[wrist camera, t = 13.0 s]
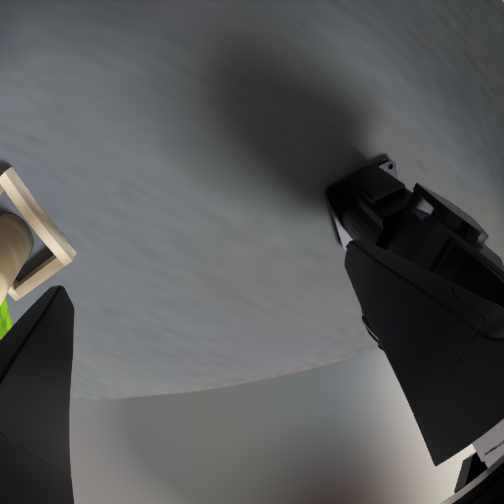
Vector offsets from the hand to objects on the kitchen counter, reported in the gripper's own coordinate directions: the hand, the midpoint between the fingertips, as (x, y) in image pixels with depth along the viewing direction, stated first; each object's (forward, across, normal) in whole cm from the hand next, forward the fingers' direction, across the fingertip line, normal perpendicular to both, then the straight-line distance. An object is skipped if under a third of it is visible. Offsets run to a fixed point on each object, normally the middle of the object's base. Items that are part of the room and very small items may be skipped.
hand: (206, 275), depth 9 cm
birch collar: (+14, +16, +4) cm, 21 cm away
